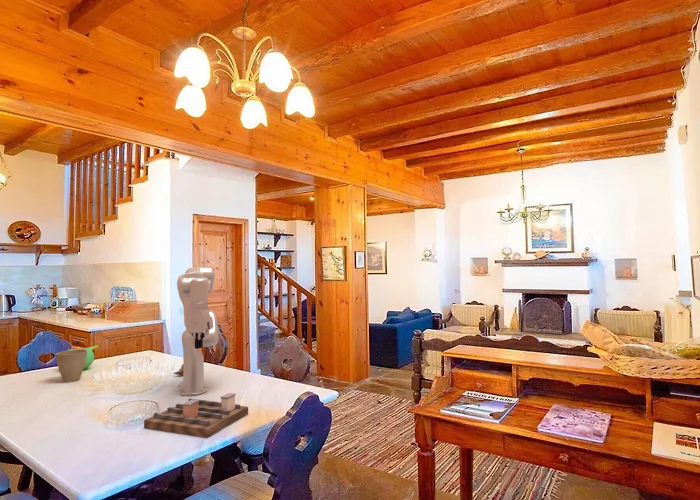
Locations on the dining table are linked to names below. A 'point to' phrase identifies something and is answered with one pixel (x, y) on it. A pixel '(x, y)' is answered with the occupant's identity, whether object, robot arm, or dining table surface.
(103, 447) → the dining table surface
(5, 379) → the dining table surface
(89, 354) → the toy bird
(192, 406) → the block
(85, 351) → the plant pot
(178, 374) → the ceramic sculpture
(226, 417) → the board
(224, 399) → the fader cream
